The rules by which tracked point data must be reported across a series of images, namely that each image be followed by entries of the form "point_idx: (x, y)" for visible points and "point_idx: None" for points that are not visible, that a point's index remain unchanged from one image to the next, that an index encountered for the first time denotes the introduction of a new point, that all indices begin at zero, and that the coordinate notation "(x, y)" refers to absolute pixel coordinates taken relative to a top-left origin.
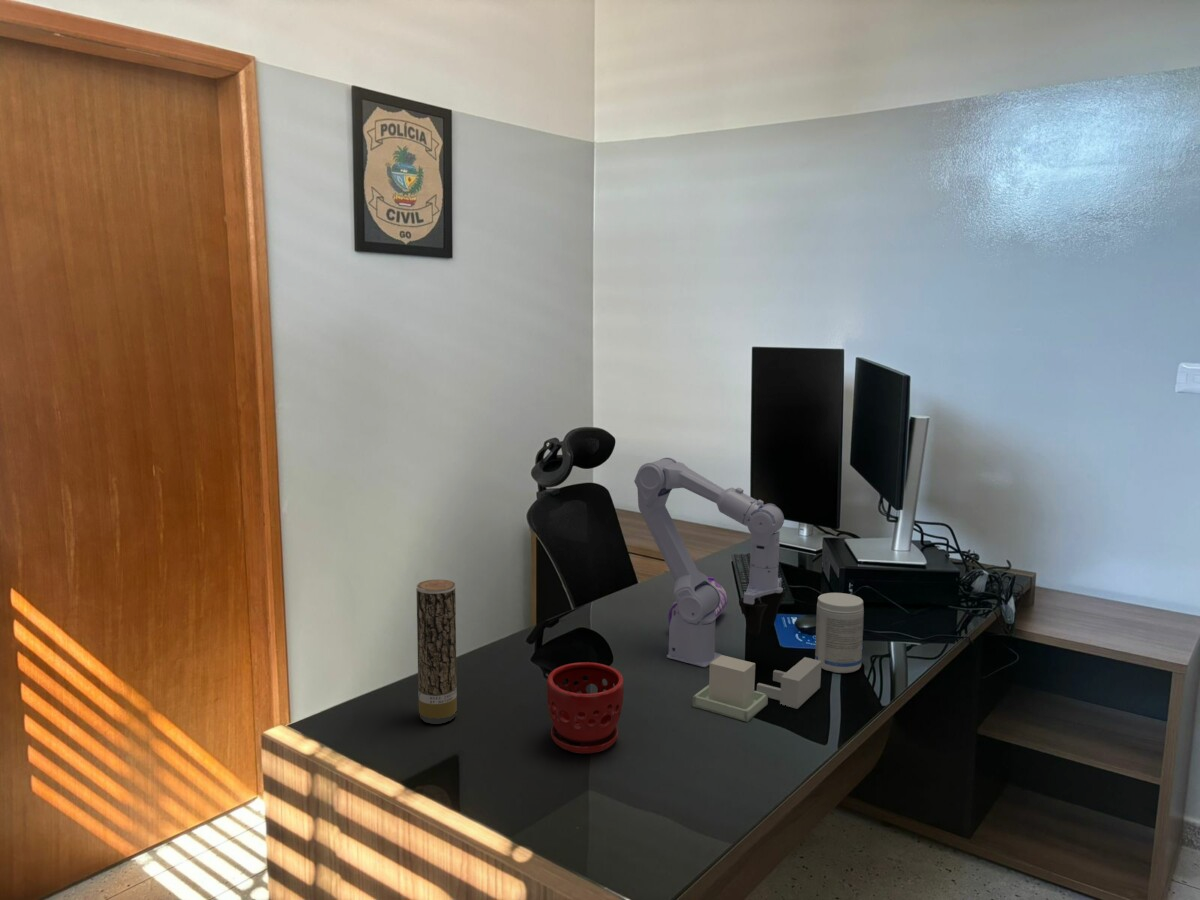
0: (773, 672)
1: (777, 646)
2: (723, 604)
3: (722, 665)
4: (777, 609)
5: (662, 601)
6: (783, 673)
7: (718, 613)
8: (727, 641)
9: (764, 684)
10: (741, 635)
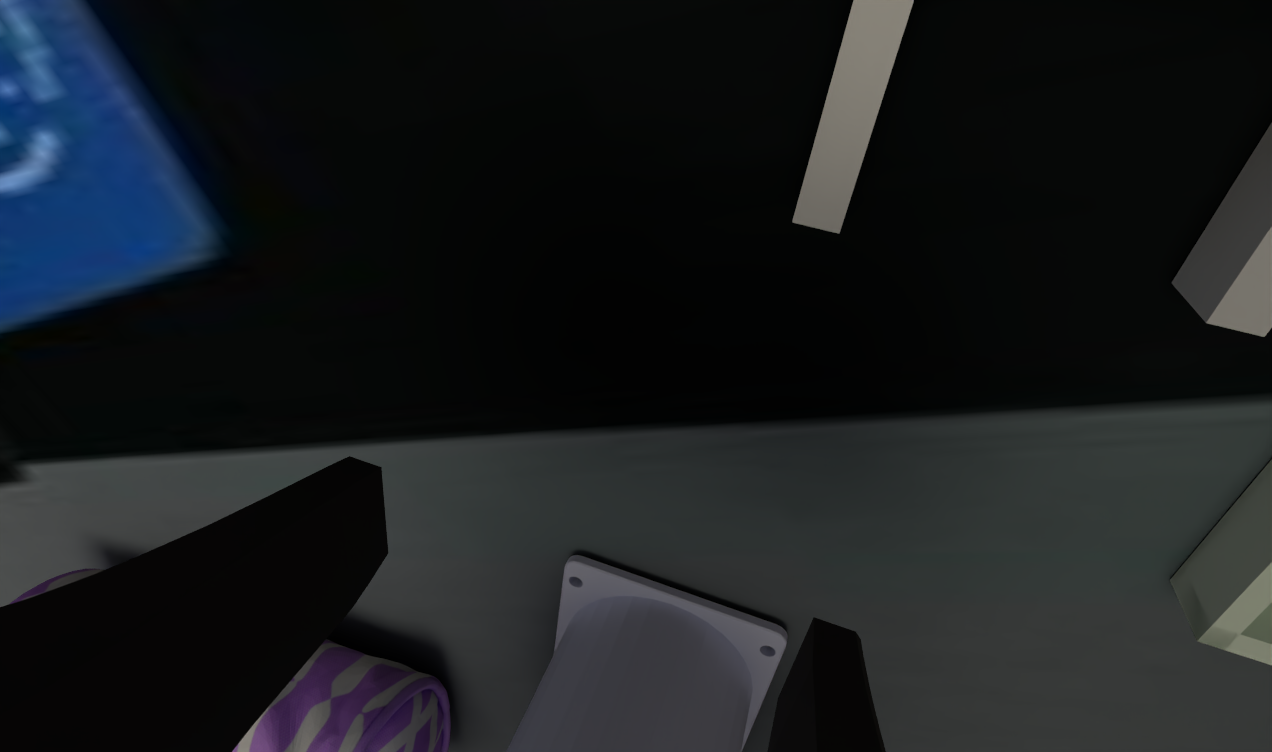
0: (839, 227)
1: (234, 270)
2: None
3: None
4: (163, 577)
5: None
6: (865, 127)
7: None
8: None
9: (1250, 266)
10: (243, 470)
